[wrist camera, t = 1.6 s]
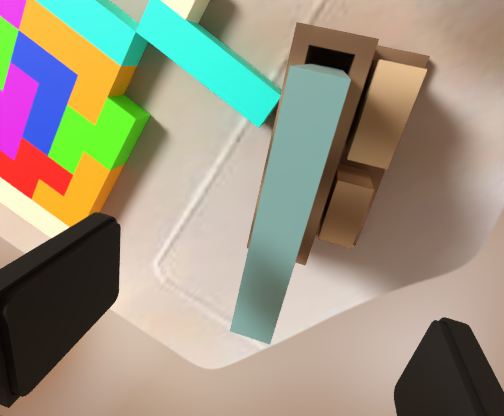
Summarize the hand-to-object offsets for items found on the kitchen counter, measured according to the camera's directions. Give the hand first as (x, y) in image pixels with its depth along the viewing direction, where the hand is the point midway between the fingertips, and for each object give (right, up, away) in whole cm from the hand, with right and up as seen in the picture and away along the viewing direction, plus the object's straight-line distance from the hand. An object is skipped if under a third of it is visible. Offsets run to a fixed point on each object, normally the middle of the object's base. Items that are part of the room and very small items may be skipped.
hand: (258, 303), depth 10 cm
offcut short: (+8, +4, +19) cm, 21 cm away
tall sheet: (+4, +8, +18) cm, 20 cm away
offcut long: (+9, +11, +15) cm, 21 cm away
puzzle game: (-16, +13, +23) cm, 31 cm away
